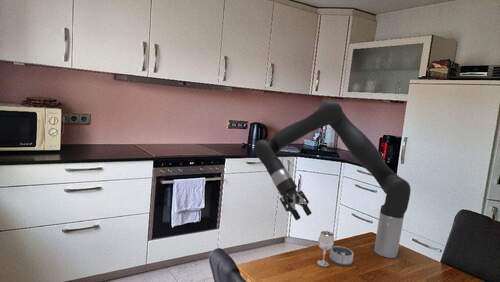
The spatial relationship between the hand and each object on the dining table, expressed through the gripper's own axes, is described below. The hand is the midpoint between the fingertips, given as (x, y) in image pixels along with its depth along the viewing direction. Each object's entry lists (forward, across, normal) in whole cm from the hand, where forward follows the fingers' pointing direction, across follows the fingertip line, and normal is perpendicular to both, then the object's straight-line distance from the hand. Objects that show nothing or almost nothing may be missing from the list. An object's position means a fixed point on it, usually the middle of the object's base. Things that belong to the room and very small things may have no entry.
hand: (304, 216), depth 134 cm
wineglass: (+18, 0, +4) cm, 19 cm away
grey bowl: (+21, +8, +1) cm, 22 cm away
